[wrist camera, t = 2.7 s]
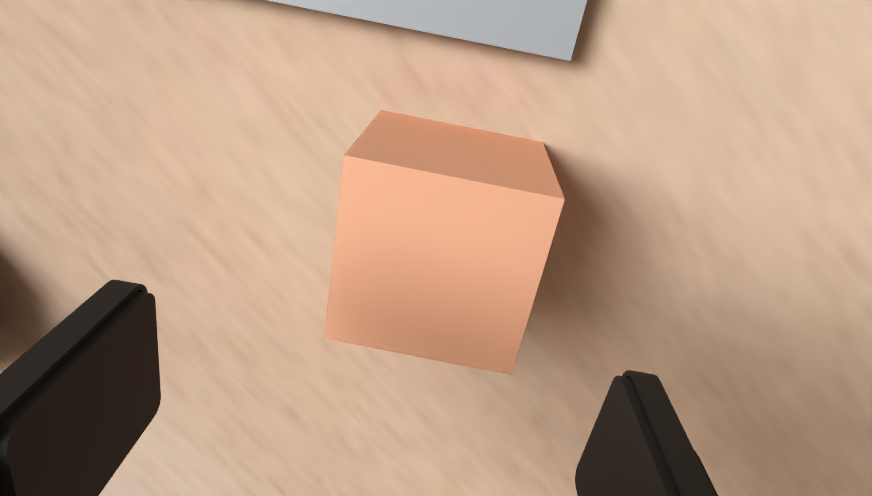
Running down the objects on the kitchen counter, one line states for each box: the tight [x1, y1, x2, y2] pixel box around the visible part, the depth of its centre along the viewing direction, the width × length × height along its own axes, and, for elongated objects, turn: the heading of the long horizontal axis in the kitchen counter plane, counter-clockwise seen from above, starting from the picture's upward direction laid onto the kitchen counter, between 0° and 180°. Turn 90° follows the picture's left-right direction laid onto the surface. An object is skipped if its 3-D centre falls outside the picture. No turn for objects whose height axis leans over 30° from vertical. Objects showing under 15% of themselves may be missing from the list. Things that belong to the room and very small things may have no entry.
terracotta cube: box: [324, 110, 565, 375], centre depth 19 cm, size 6×6×6 cm
